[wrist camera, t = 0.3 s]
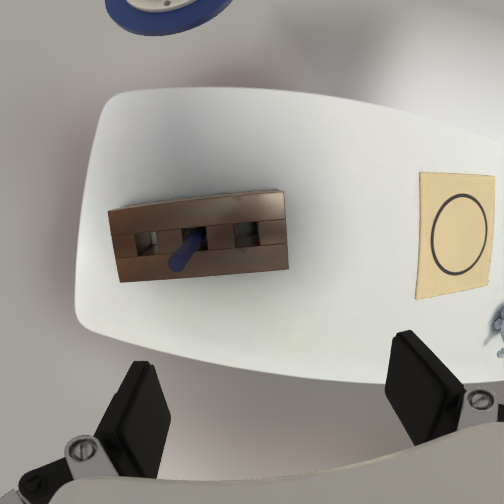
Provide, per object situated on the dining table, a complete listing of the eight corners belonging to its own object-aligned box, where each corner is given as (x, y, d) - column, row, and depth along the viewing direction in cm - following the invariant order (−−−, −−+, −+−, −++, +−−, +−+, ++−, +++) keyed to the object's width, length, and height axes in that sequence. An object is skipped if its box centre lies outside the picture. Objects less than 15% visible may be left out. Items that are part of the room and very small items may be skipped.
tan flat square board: (419, 172, 31) (420, 172, 31) (492, 176, 31) (494, 176, 31) (414, 298, 35) (416, 300, 35) (485, 284, 35) (487, 285, 35)
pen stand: (126, 205, 31) (107, 211, 27) (277, 189, 31) (283, 191, 27) (135, 268, 33) (119, 282, 28) (282, 255, 33) (288, 269, 28)
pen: (196, 224, 32) (166, 256, 20) (207, 223, 32) (183, 254, 20) (197, 235, 32) (169, 273, 20) (208, 234, 32) (186, 272, 20)
